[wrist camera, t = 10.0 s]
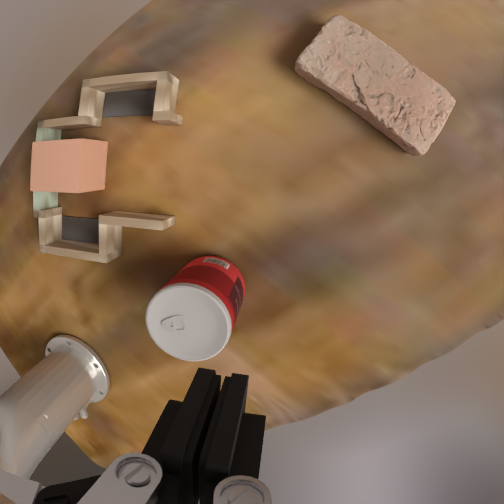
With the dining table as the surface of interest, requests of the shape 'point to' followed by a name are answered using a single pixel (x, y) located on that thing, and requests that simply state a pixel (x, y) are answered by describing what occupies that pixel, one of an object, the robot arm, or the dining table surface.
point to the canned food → (196, 309)
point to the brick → (376, 84)
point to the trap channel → (90, 115)
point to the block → (68, 165)
